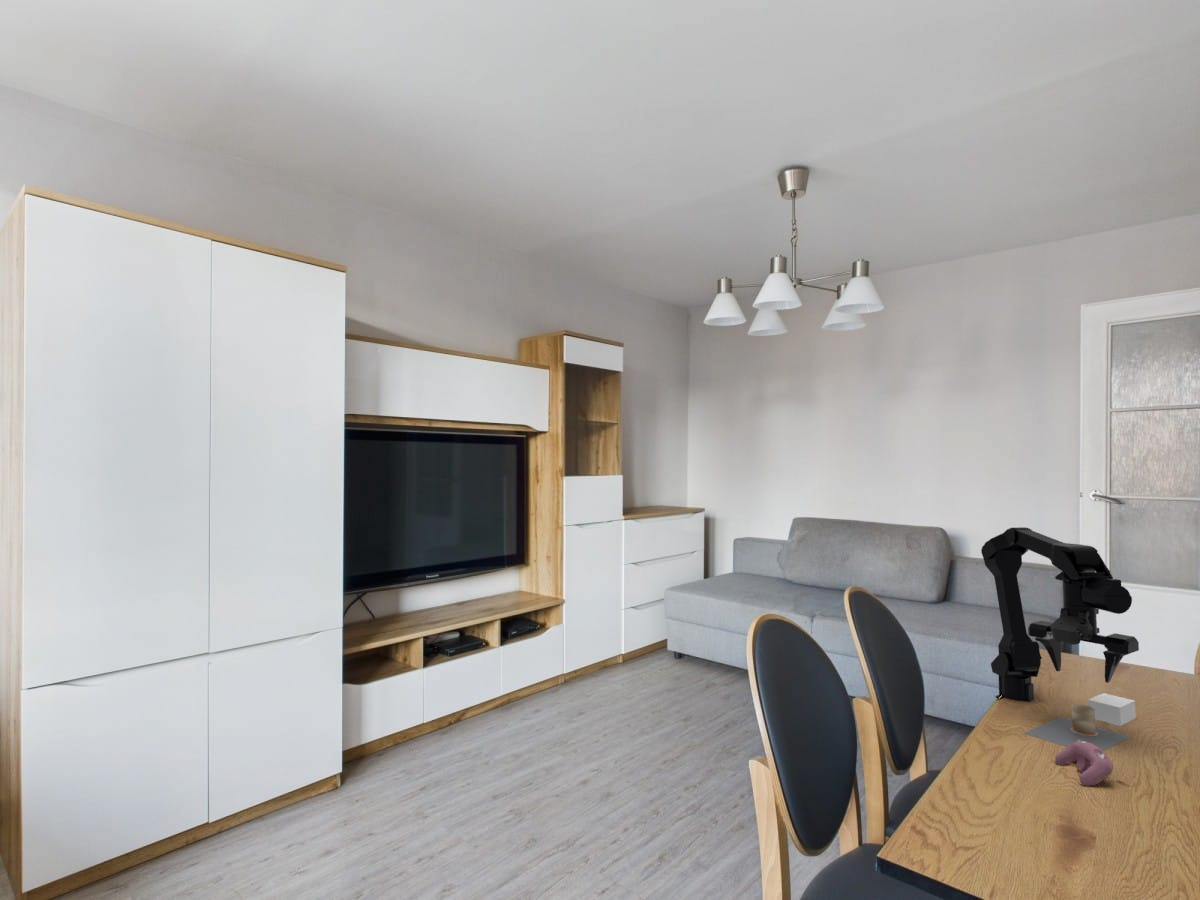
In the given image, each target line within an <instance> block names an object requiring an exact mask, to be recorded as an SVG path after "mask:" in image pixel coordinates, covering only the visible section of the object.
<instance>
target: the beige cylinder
mask: <svg viewBox="0 0 1200 900" xmlns="http://www.w3.org/2000/svg"><path fill="white" fill-rule="evenodd" d="M1071 720H1072V725H1073V730H1074V731H1075V732H1077V733H1080V734H1085V735H1095V734H1096V727H1097V726H1096V719H1095V709H1094V708H1092V707H1089V706H1088V705H1084V704H1072V705H1071Z"/></svg>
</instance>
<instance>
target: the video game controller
mask: <svg viewBox="0 0 1200 900" xmlns="http://www.w3.org/2000/svg"><path fill="white" fill-rule="evenodd" d="M1054 762H1055V763H1056V764H1057V765H1059V766H1067V765H1070V764H1072V763H1075V762H1076V765H1075V766H1076V769H1077V770H1079V771H1081V774H1080V776H1079V782H1080V784H1081V785H1083V786H1084V785H1085V786H1086V787H1089V786H1095V785H1097V784H1099V783H1101V782H1102V781H1103V780H1104V779H1105V778H1106V777H1108V776H1110V775H1111V774H1112V772H1113V770H1114V763H1113V761H1112V760H1111V758H1109V757H1108V755H1107V753H1106V752H1105V751H1103V750H1102V749H1101V748H1099V747H1098V746H1096V745H1094V744H1091V743H1088V742H1084V741H1082V742H1081V741H1080V740H1078V741H1077V742H1073V743H1072V744H1071V745H1070V746H1068V747H1065V748H1064V749H1062V750H1061V751H1059V752H1058V753H1057V754H1056V755H1055V758H1054Z"/></svg>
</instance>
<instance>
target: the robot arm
mask: <svg viewBox="0 0 1200 900" xmlns="http://www.w3.org/2000/svg"><path fill="white" fill-rule="evenodd" d="M980 551H981V556H982V558H983V561H984V562H983V563H984V565H985V567H986V569H988V570H989V572H990V573H991V574H992V576H993V577H994V583H995V589H996V595H997V601H998V608H999V614H1000V615H999V616H1000V619H1001V625H1002V632H1003V635H1002V636H1001V638H1000V641H999V643H998V647H997V648H998V649H997V650H998V654H997V656H995V658H994V659H993V660H992V661H991V663H990V667H991V670H992V673H993V674H995V675H997V676H998V694H997V695H995V698H996V699H998V698H999V697H1000V696H1001V695H1002V697H1001V698H1000V699H999V700H1003V699H1009V700H1013V701H1019V702H1027V703H1030V702H1032V701H1033V702H1034V701H1035V690H1034V689H1035V688H1034V686H1035V685H1034V683H1032V678H1033V677H1035V678H1038V677H1039V676H1038V675H1039V672H1040V669H1041V668H1040V667H1041V665H1042V659H1043V657H1042V655H1041V652H1040V645H1039V643H1038V642H1040V644H1041V645H1043V647H1044V649H1046V651H1047V653H1048V655H1049V658H1050V659H1051V662H1052V665H1053V668H1055V671H1056V672H1057V673H1058V672H1061V669H1062V643H1068V644H1069V645H1079V644H1081V642H1086V643H1092V644H1097V645H1103V646H1104V648H1105V649H1106V650H1105V651H1102V654H1103V655H1104V661H1105V662H1104V681H1105V683H1107V684H1109V683H1110V682H1111V680H1112V678H1113V676H1114V673H1115V671H1116V670H1117V667H1118V665H1119V664H1120V662H1121V661H1122V659H1123V658H1124V657H1126V656H1128V655H1130V654H1132V653H1135V652H1138V651H1140V650H1139V649H1140V648H1139V647H1140V646H1139V645H1140V644H1139V641H1138V639H1137V638H1136V636H1133V635H1132V636H1131V635H1126V634H1120V633H1116V632H1115V633H1112V634H1109V635H1102V634H1100V627H1097V626H1098V623H1097V619H1098V618H1097V615H1099V613H1100V610H1101V611H1105V612H1109V613H1112V614H1117V615H1120V614H1124V613H1126V612H1128V610H1129V609H1130V608H1131V606H1132V602H1133V598H1132V596H1131V594H1130V592H1129V590H1128V589H1127V588H1126V587H1125V586H1123V585H1122V580H1121V579H1117V578H1113V577H1114V576H1113V575H1112V574H1111V570H1110V569H1109V568H1108V567H1107V565H1106V563H1105V561H1104V560H1103V559H1102V557H1101V555H1100V554H1099V553H1098V549H1096V548H1095V547H1094V546H1091V545H1087V544H1085V545H1084V544H1077V543H1069V542H1068V543H1066V542H1062V541H1060V540H1057V539H1055V538H1052V537H1050V536H1047V535H1045V534H1041V533H1039V532H1036V531H1034V530H1032V529H1031V528H1029V527H1022V526H1021V527H1010V528H1007V529H1006V530H1005V531H1004V532H1003V533H1000V534H998V535H996V536H994V537H992V538H990V539H988V540H987V541H985V543H984V545H982V547H981V550H980ZM1029 551H1030V552H1033V553H1036V554H1037V555H1040V556H1042V557H1045V558H1047V559H1048V560H1050V562H1051V565H1052V566H1054V567H1055V568H1056V569H1058V570H1060V571H1061V572H1060V573H1058V574H1057V575H1056V576H1055V580H1057V581H1062V598H1063V599H1062V602H1063V603H1062V604H1063V607H1061V608H1060V611H1059V612H1060V614H1059V618H1056V619H1055V621H1053V622H1052V621H1044V620H1039V621H1034V622H1031V623H1030V624H1029V625H1028V627H1027V626H1026V625H1027V624H1026V621H1025V615H1024V609H1023V604H1022V598H1021V591H1020V586H1019V581H1018V574H1019V571H1020V569H1021V567H1022V565H1023V559H1022V558H1023V557H1022V556H1023V555H1025V554H1026V553H1027V552H1029ZM1031 637H1033V638H1034V637H1035V638H1034V640H1035V641H1033V640H1032V638H1031Z"/></svg>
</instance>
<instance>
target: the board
mask: <svg viewBox="0 0 1200 900" xmlns="http://www.w3.org/2000/svg"><path fill="white" fill-rule="evenodd" d="M1023 735H1026V736H1030V737H1034V738H1037V739H1040V740H1043V741H1045V742H1049V743H1051V744H1055V745H1058V746H1062V747H1065V748H1067V747H1068V746H1070V745H1071V744H1072V743H1073V742H1077V741H1078V740H1080V741H1081V742H1082V741H1084V742H1088V743H1091V744H1094V745H1096V746H1098V747H1099V748H1101V749H1102V750H1103V751H1104V752H1105V751H1106V750H1108V749H1110V748H1112V747H1114V746H1116V745H1118V744H1119V743H1122V742H1124V741H1126V740H1127V739H1130V738H1131V737H1132V736H1130V735H1126V734H1123V733H1119V732H1117V731H1116V732H1115V731H1112V730H1110V729H1105V728H1101V727H1098V726H1096V734H1095V735H1085V734H1080V733H1077V732H1075V731H1074V730H1073V725H1072V719H1069V718H1066V717H1063V716H1060V717H1058V718H1056V719H1054V720H1052V721H1049V722H1046V723H1044V724H1042V725H1040V726H1037V727H1033V729H1030V730H1028V731H1025V732H1023Z"/></svg>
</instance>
